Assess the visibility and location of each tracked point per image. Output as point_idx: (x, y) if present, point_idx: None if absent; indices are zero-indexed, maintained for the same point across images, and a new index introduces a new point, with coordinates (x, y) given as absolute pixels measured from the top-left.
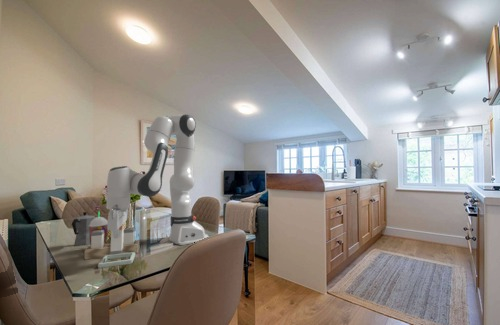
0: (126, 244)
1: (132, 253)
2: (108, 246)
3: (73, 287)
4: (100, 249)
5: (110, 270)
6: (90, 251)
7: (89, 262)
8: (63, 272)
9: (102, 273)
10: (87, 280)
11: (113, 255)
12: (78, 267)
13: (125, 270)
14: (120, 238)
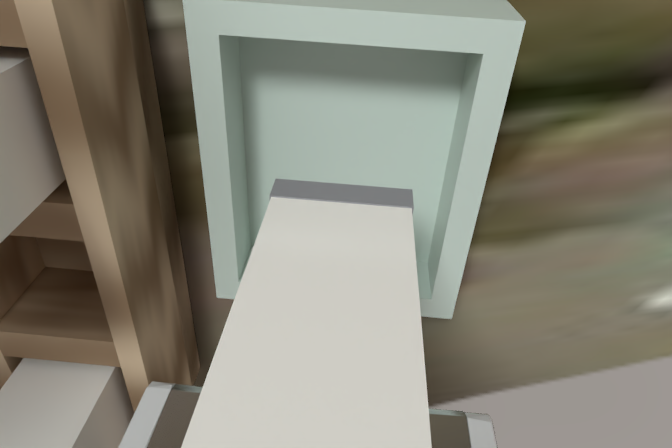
0: (41, 161)
1: (242, 35)
2: (28, 318)
3: (653, 357)
4: (150, 369)
5: None
6: None
7: (197, 343)
8: None
9: (503, 241)
10: (585, 309)
11: (235, 234)
12: None
13: (562, 60)
14: (422, 357)
